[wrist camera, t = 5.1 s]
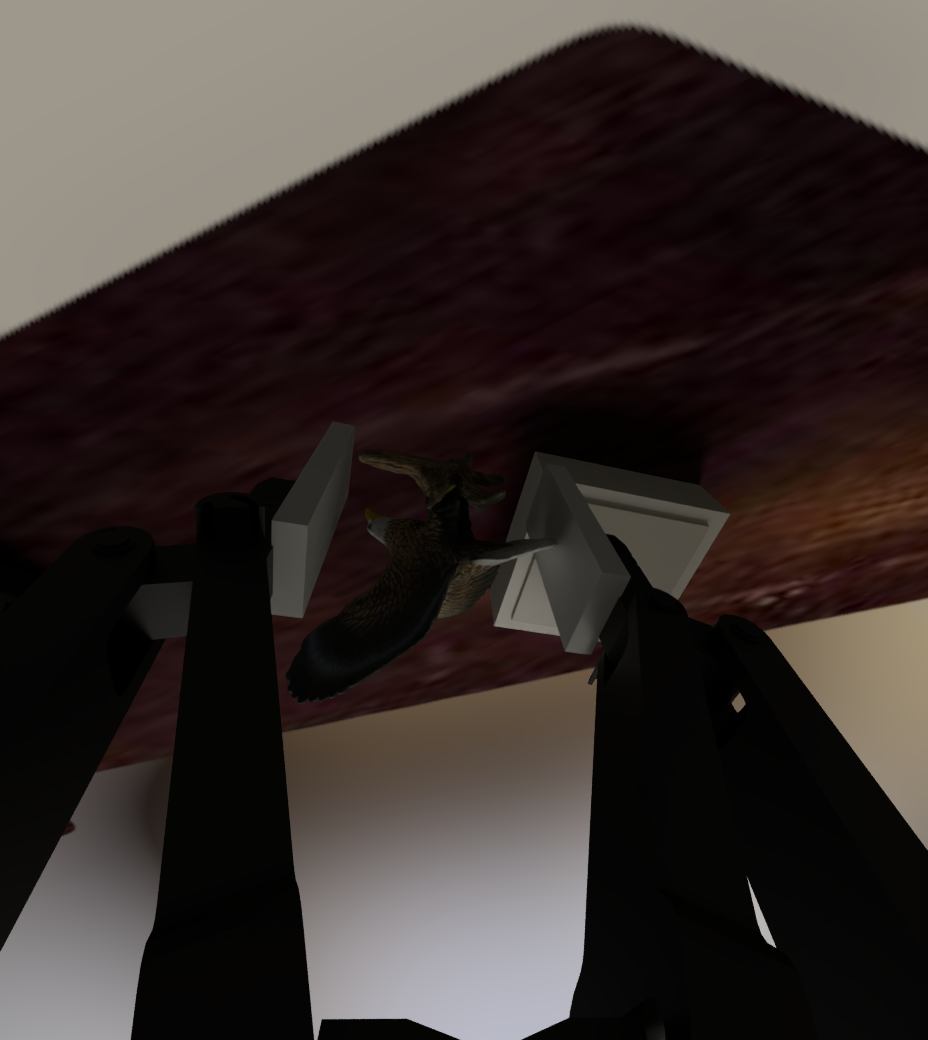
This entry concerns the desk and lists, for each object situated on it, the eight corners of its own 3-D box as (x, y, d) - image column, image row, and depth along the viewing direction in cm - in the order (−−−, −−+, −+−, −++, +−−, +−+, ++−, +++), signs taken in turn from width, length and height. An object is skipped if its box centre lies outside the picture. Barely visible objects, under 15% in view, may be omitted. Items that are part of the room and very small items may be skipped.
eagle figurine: (301, 403, 14) (248, 638, 17) (428, 498, 9) (325, 803, 12) (474, 441, 19) (412, 615, 22) (611, 514, 15) (511, 724, 17)
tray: (489, 589, 36) (494, 629, 32) (535, 451, 30) (547, 479, 26) (629, 612, 37) (649, 651, 34) (699, 485, 31) (732, 516, 28)
